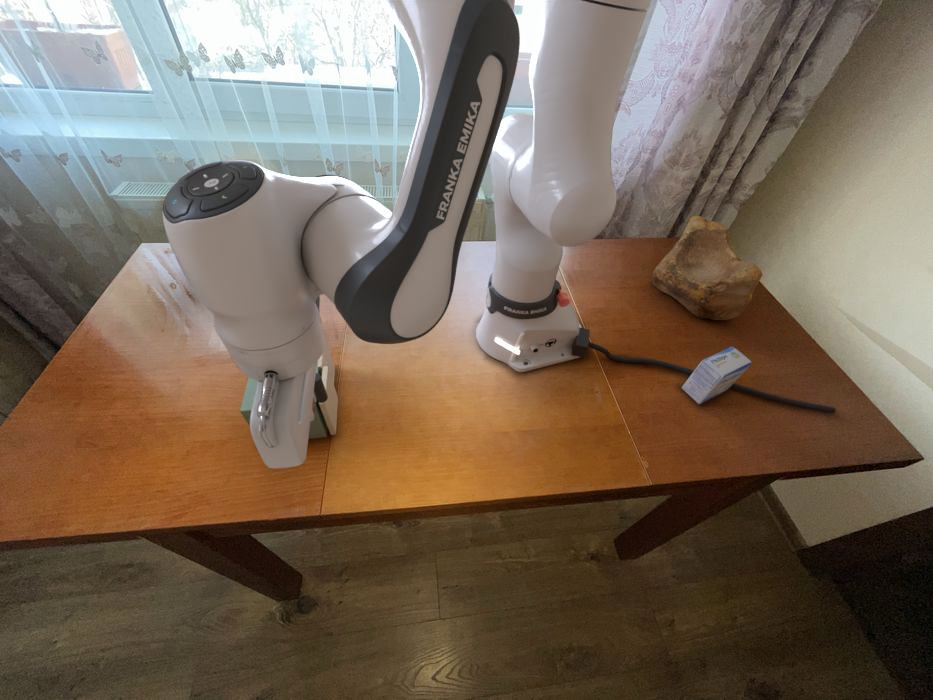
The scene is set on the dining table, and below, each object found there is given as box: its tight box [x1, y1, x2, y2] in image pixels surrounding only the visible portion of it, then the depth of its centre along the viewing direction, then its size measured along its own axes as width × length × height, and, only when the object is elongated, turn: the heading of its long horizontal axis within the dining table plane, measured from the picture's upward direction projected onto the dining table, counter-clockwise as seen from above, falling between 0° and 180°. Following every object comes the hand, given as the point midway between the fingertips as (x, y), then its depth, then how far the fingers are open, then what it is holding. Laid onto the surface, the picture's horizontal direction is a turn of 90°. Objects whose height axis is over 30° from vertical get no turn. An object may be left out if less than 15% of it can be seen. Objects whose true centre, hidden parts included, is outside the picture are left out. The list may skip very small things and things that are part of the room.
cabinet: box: [239, 333, 336, 440], centre depth 65 cm, size 10×14×10 cm
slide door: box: [314, 366, 339, 436], centre depth 62 cm, size 2×7×14 cm, turn 9°
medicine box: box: [681, 346, 753, 406], centre depth 73 cm, size 8×4×9 cm, turn 117°
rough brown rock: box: [652, 215, 764, 321], centre depth 90 cm, size 23×17×15 cm
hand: (308, 411), depth 50 cm, fingers closed
